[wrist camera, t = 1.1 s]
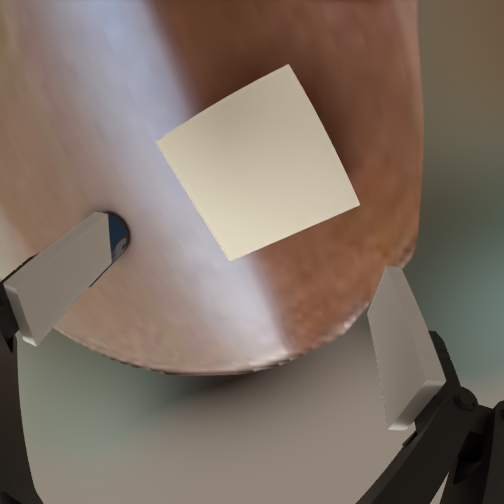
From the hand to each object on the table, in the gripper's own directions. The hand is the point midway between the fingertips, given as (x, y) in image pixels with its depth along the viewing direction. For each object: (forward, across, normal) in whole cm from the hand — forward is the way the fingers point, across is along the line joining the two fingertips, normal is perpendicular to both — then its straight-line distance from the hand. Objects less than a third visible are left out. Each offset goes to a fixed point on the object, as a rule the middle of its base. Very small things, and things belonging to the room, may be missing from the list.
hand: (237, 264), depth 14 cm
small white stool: (+26, -1, 0) cm, 26 cm away
